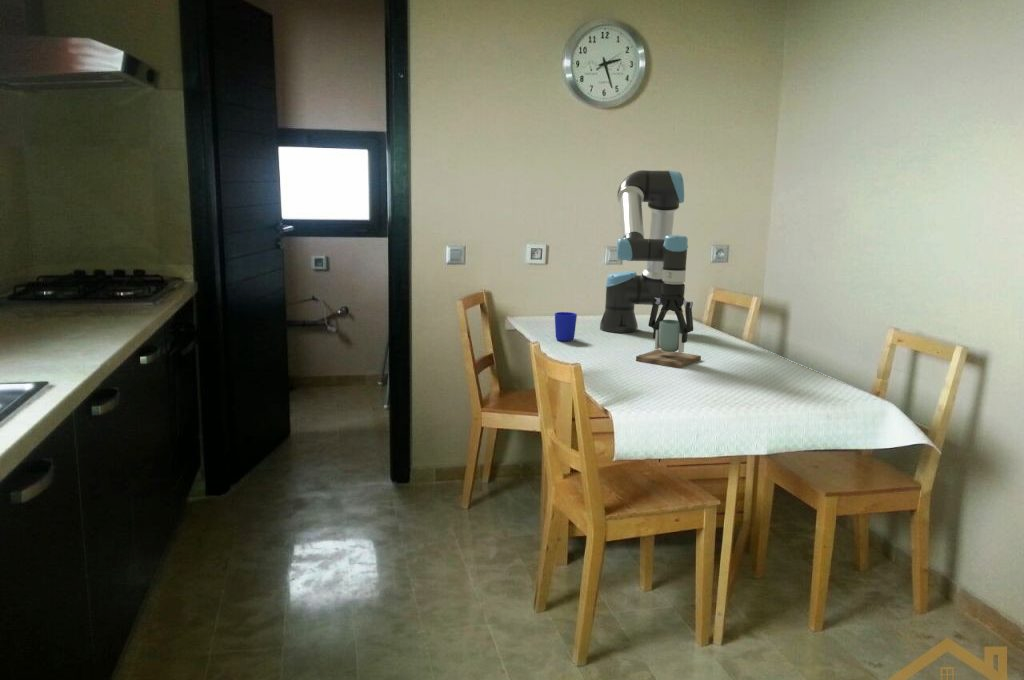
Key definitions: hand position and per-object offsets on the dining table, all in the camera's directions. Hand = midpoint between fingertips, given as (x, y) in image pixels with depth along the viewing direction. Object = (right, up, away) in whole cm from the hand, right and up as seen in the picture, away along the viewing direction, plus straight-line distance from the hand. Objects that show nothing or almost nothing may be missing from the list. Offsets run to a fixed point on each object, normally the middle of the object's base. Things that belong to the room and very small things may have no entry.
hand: (669, 350), depth 268 cm
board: (0, -3, +1) cm, 4 cm away
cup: (0, 0, 0) cm, 1 cm away
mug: (-33, +3, +33) cm, 47 cm away
